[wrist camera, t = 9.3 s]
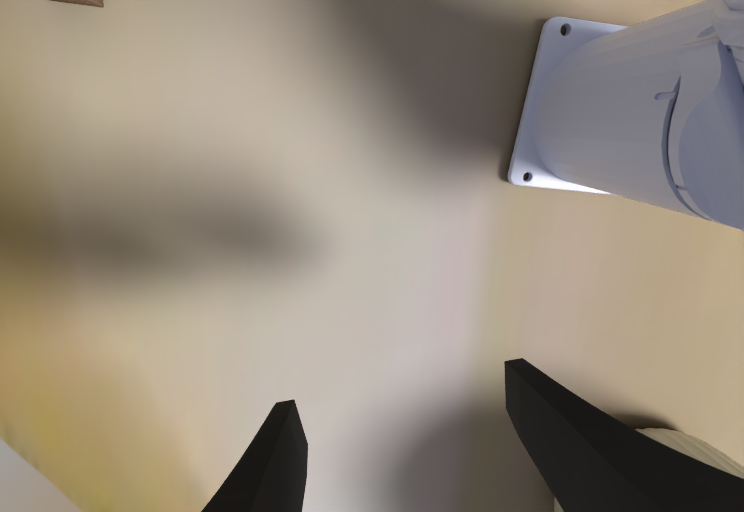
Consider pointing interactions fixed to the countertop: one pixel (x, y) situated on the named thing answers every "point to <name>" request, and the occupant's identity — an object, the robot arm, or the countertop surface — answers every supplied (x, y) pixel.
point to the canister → (688, 452)
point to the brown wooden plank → (84, 2)
